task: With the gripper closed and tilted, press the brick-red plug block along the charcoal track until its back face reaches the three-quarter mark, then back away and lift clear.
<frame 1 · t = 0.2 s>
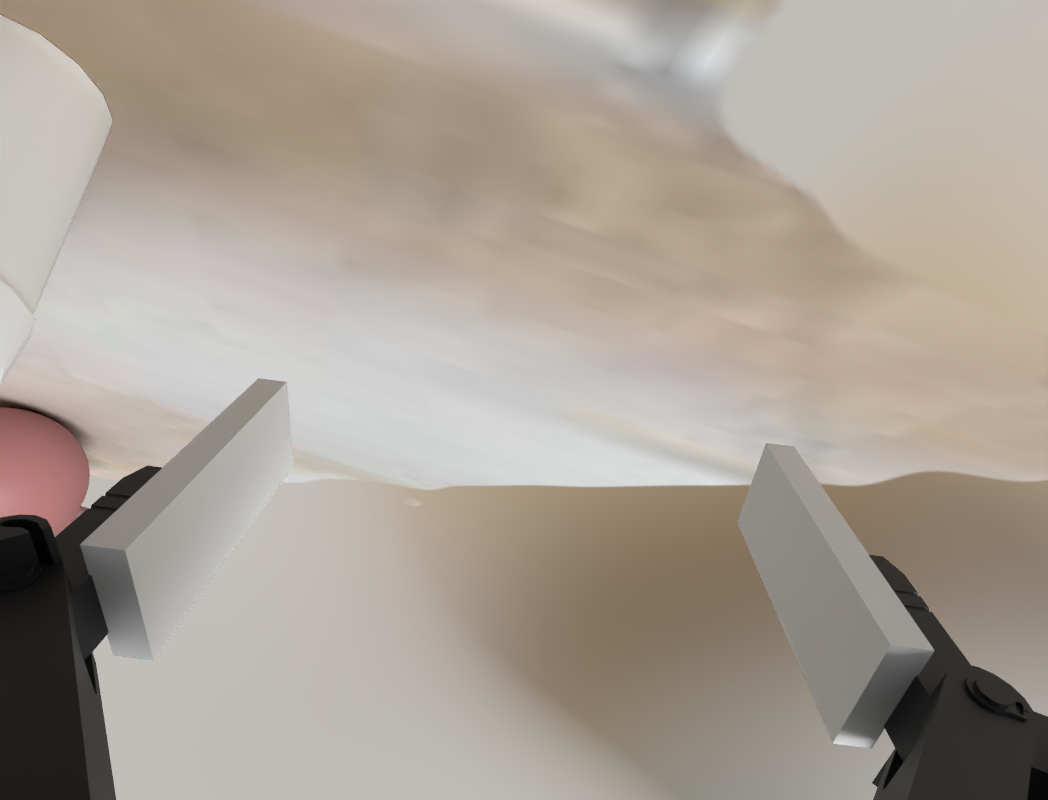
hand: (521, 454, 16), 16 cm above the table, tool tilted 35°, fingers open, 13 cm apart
balloon: (55, 423, 67), on the table
foam cup: (34, 80, 26), on the table
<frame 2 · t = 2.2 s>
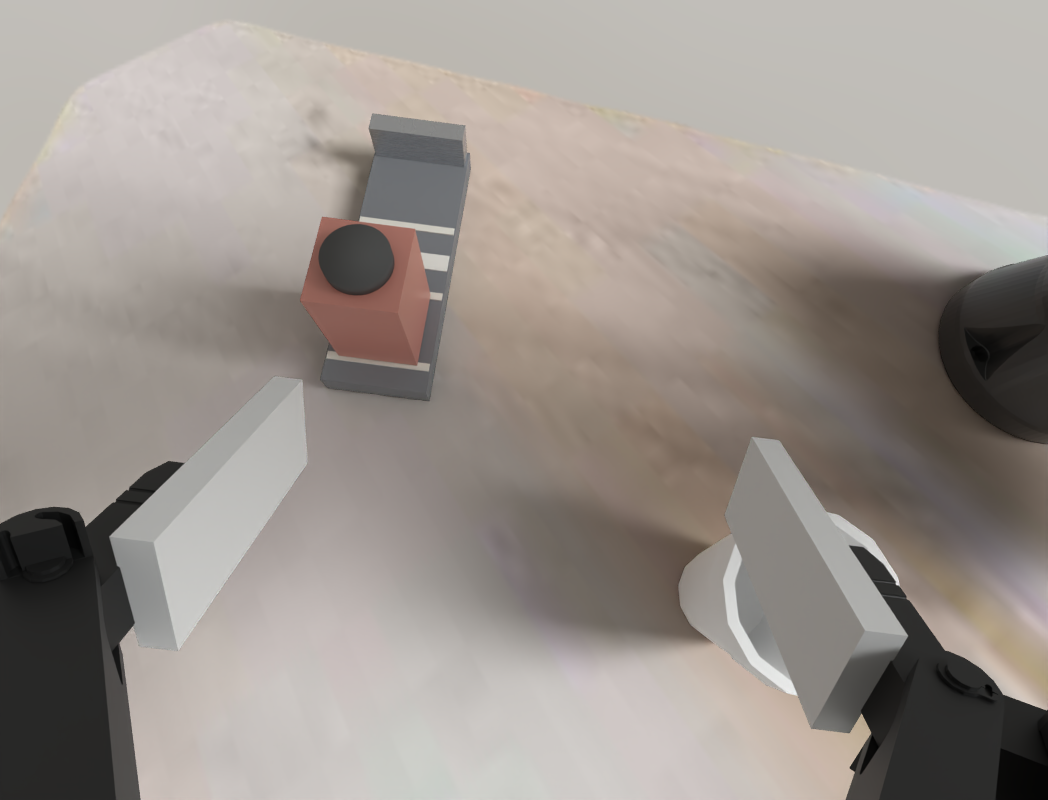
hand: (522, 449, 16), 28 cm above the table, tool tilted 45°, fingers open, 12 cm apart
plug: (372, 294, 40), point 7 cm above the table, slide at 0.0 cm
track: (404, 270, 49), on the table
foam cup: (720, 594, 42), on the table
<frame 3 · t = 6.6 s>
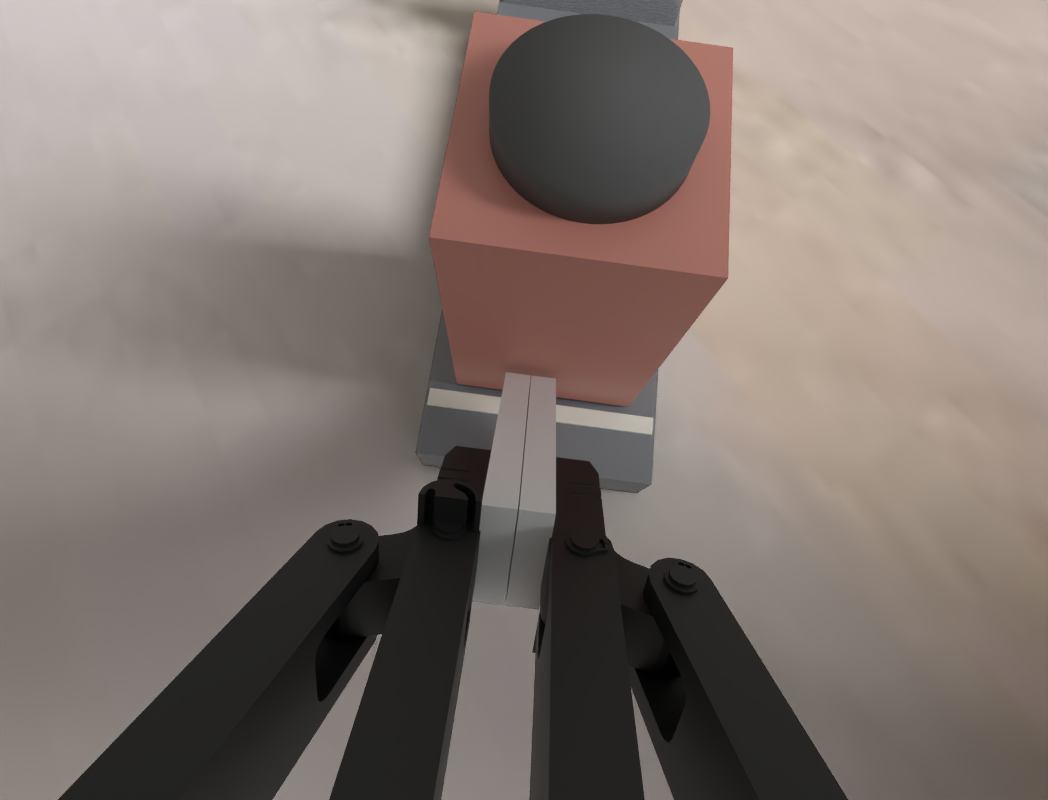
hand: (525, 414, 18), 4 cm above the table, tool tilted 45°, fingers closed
plug: (569, 239, 16), point 7 cm above the table, slide at 0.6 cm, touching gripper
track: (561, 223, 25), on the table
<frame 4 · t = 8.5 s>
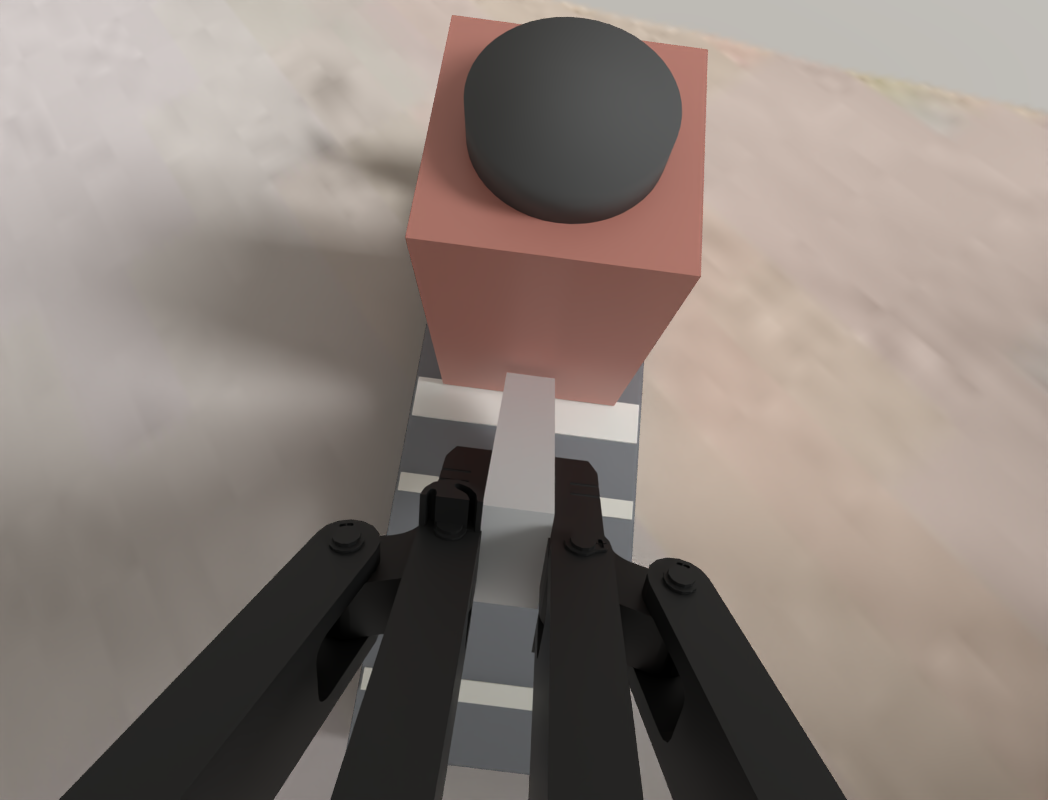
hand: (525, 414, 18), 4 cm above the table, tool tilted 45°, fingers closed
plug: (550, 240, 16), point 7 cm above the table, slide at 9.5 cm, touching gripper
track: (523, 425, 22), on the table
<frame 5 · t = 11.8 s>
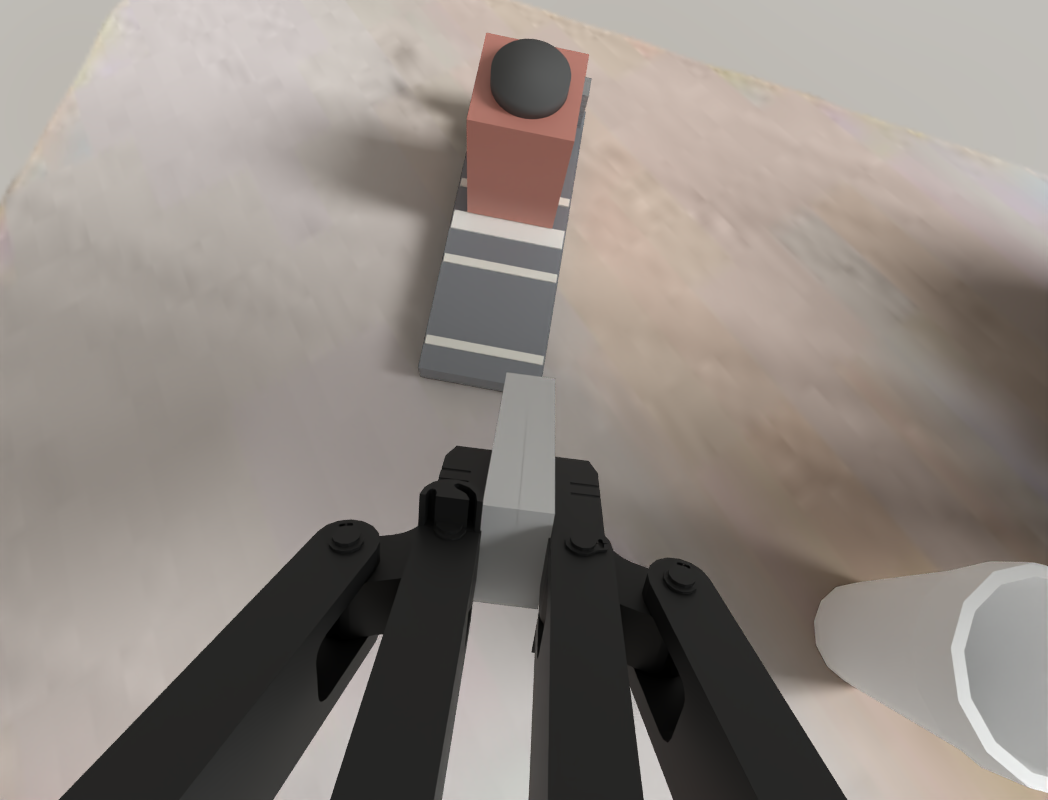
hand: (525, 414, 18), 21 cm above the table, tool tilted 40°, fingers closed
plug: (523, 135, 36), point 7 cm above the table, slide at 9.6 cm
track: (506, 244, 42), on the table
foam cup: (858, 633, 38), on the table
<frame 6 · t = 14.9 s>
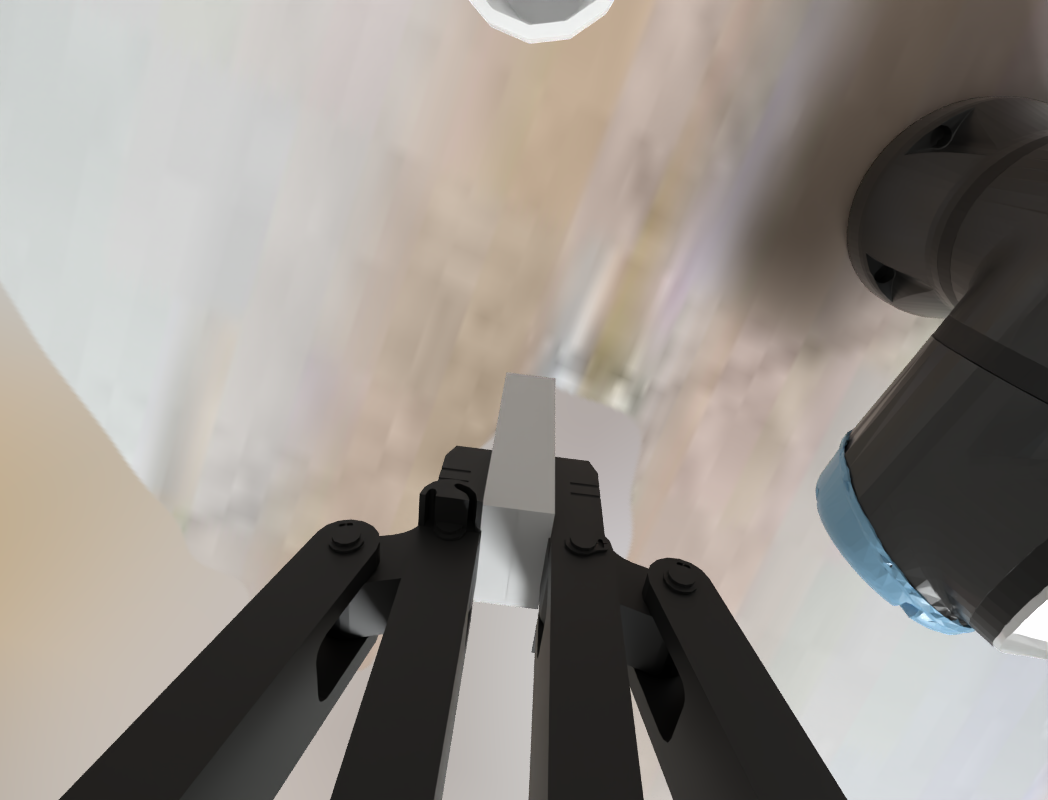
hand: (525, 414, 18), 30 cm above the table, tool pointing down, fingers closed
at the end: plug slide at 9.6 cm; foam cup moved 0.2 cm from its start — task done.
